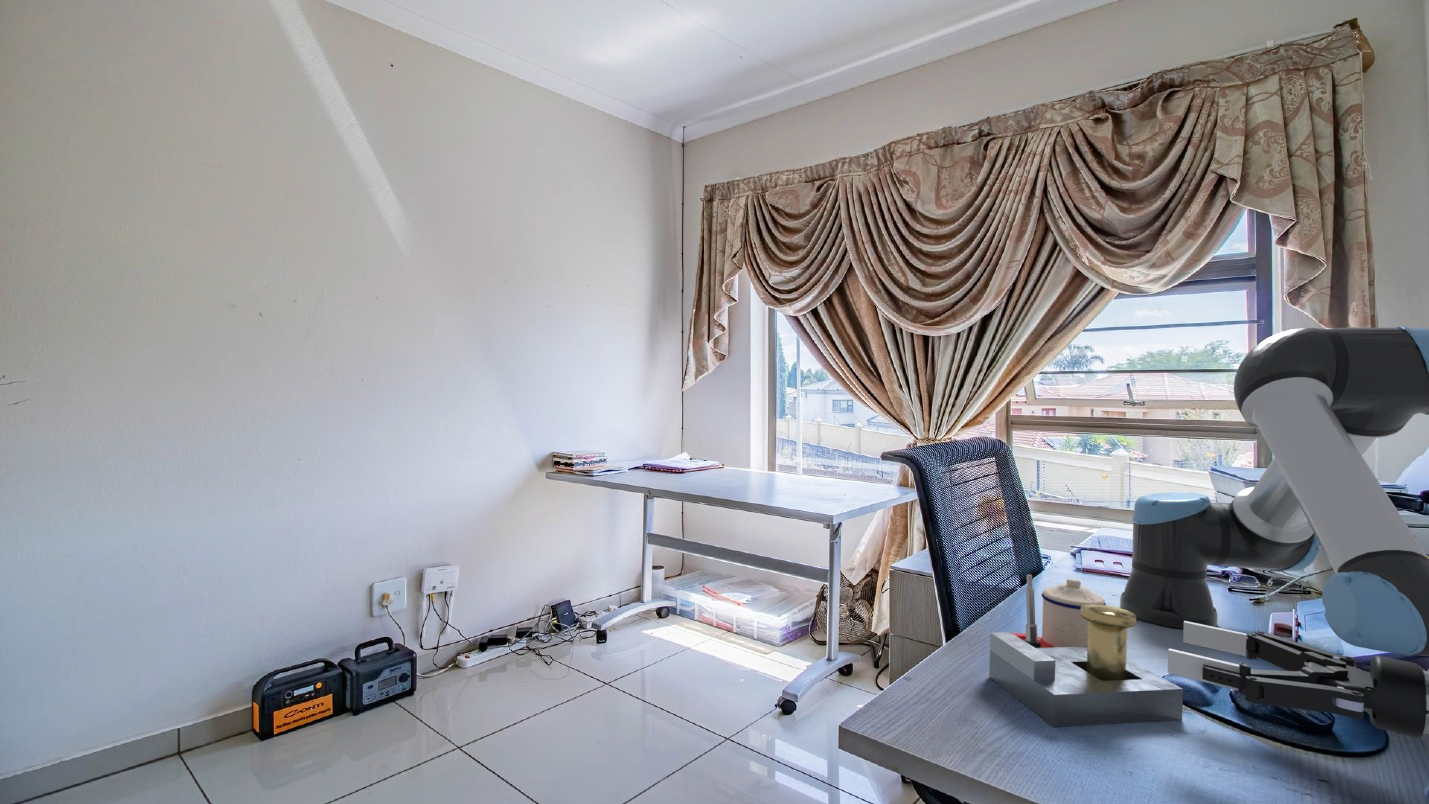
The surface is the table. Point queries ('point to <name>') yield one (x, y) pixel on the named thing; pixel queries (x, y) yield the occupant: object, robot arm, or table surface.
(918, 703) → the table surface
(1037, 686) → the jig
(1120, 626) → the brass flanged peg
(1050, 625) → the teacup with lid
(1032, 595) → the tow hook
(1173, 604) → the robot arm
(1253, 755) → the table surface
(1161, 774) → the table surface
